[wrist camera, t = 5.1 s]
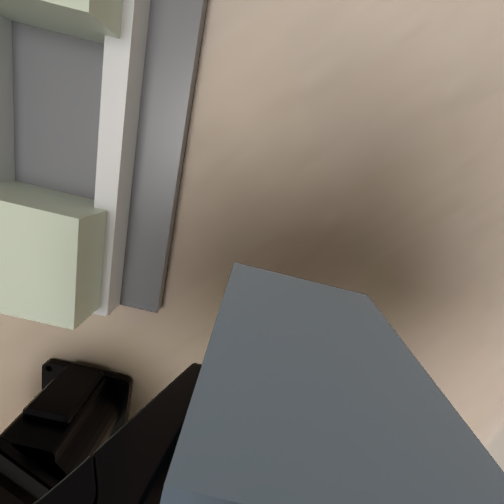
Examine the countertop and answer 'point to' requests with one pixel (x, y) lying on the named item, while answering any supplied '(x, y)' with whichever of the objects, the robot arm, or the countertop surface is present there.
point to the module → (319, 408)
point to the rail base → (91, 151)
